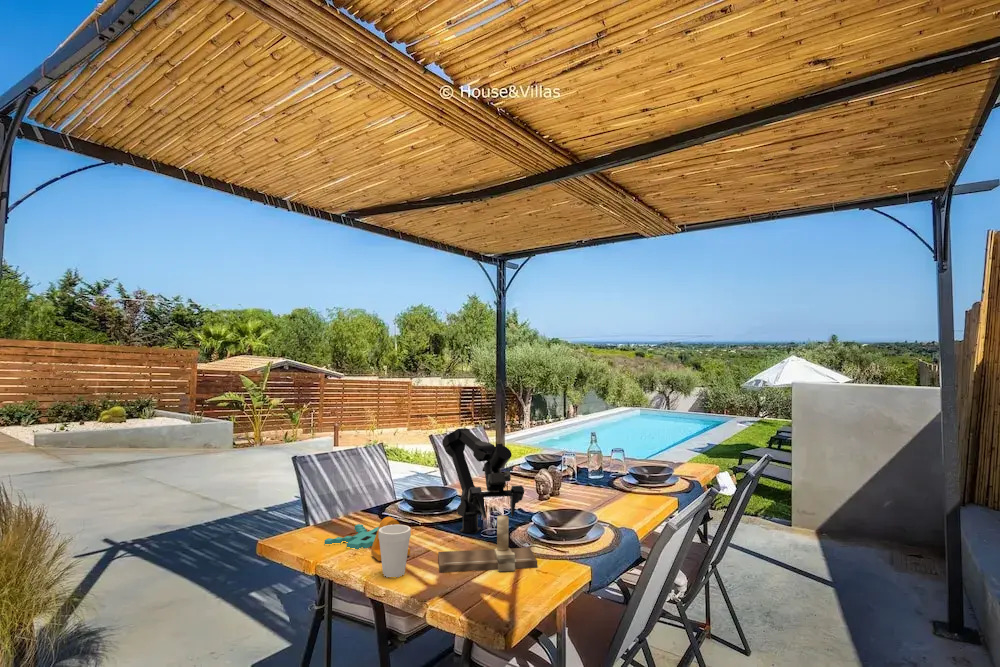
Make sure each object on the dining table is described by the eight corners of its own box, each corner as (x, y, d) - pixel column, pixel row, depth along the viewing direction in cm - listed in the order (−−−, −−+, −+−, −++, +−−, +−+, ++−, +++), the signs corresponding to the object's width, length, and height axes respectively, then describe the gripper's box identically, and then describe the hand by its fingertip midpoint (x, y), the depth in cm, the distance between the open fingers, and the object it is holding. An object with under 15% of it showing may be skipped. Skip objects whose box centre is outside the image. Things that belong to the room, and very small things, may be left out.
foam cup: (371, 575, 157) (372, 530, 158) (393, 565, 165) (394, 522, 165) (394, 582, 152) (395, 536, 153) (416, 572, 159) (417, 528, 160)
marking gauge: (498, 571, 160) (498, 524, 160) (494, 559, 170) (494, 515, 170) (514, 570, 160) (515, 524, 161) (509, 558, 170) (509, 515, 171)
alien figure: (324, 546, 183) (374, 553, 176) (324, 540, 183) (375, 546, 176) (357, 530, 202) (404, 535, 195) (358, 524, 202) (404, 529, 195)
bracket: (378, 564, 166) (379, 524, 167) (371, 556, 172) (371, 519, 173) (410, 557, 172) (411, 519, 173) (402, 550, 178) (403, 514, 179)
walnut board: (439, 572, 159) (439, 565, 159) (438, 558, 171) (438, 551, 171) (537, 567, 164) (537, 560, 164) (529, 553, 175) (529, 547, 176)
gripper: (469, 463, 179) (473, 505, 168) (523, 461, 183) (531, 502, 171) (466, 481, 186) (470, 523, 175) (517, 480, 190) (525, 520, 179)
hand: (499, 517), depth 175 cm, fingers open, 9 cm apart
